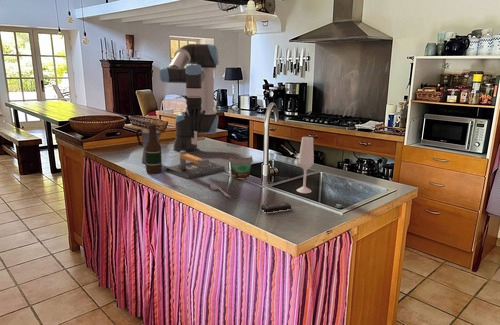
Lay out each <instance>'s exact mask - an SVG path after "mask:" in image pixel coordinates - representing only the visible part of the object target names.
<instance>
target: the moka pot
mask: <svg viewBox="0 0 500 325" xmlns="http://www.w3.org/2000/svg"><path fill="white" fill-rule="evenodd" d="M139 133H140V134H141V137H142V142H141V139H140V135H139ZM135 135H136V138H137V143H138V144H139V145H138V146H141V147H143V152H142V157H141V162H142V163H143V164H146V154H145V148H146V144H147V143H148V141H149V129H142V128H141V129H140V128H138V129H137V131H136V132H135ZM156 135H157V141H158V142H159V140H160V137H161V135H162V132H160V130H156Z"/></svg>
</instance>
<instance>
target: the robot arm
mask: <svg viewBox="0 0 500 325" xmlns="http://www.w3.org/2000/svg"><path fill="white" fill-rule="evenodd" d="M219 60H220V59H219V52H218V47H217V46H216V45H215V44H207V43H205V44H204V43H203V44H202V43H187V44H185V45H183V46H180V47H179V48H177V50H175V53H174V54H173V59H172V60H171V62H170V63H169V65H168V66H167V67H166V66H165V67H164V66H163V67H161V68H160V69H159V80H160V82H162V83H167V84H185V96H186V99H185V105H186V109H185V111H182V112H181V113H178V114H176V115H175V122H174V123H175V140H174V143H173V147H172V148H173V150H174V151H175V152H180V151H186V153H188V152H193V151H194V152H195V151H197V150H198V138H199V134H203V135H204V134H208V135H211V134H216V133H217V129H218V126H219V125H218V124H219V115H217V111H215V109H214V108H215V107H214V106H215V105H214V104H215V99H214V98H215V96H214V95H215V94H214V93H215V90H214V83H215V82H214V78H215V77H214V75H215V73H214V72H215V70H216V69H217V66H218V65H219V63H220V61H219Z"/></svg>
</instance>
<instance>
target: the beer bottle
mask: <svg viewBox="0 0 500 325" xmlns="http://www.w3.org/2000/svg"><path fill="white" fill-rule="evenodd" d="M156 129H157V125H156V124H154V123H153V124H148V130H149V141H148V143H147V144H146V148H145V154H146V163H145V171H146V173H147V174H150V175H151V174H152V175H156V174H160V173H162V171H163V169H162V168H163V164H162V162H163V161H162V146H161V144H160V142H159V140H158V141H157V135H156Z"/></svg>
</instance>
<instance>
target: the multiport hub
mask: <svg viewBox="0 0 500 325" xmlns="http://www.w3.org/2000/svg"><path fill="white" fill-rule="evenodd" d="M261 209H262V210H264V212H266V213H267V212H273V211H279V210H287V209H291V210H292V205H291V204H290V203H288V202H278V203H277V202H276V203H270V204H269V203H268V204H261V205H260V210H261ZM264 212H263V213H264Z"/></svg>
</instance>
